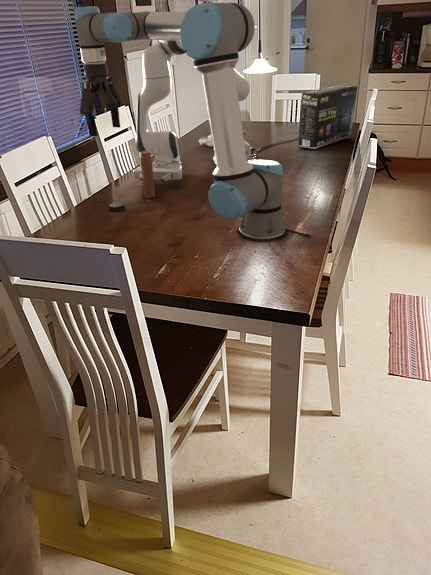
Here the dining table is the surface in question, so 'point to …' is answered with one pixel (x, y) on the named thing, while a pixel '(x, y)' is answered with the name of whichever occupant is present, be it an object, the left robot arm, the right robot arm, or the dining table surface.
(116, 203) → the lid
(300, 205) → the dining table surface
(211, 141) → the fossil
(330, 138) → the router box
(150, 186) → the jar
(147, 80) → the left robot arm
